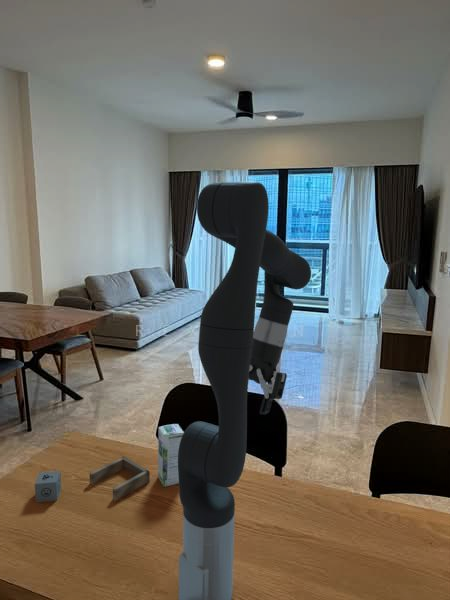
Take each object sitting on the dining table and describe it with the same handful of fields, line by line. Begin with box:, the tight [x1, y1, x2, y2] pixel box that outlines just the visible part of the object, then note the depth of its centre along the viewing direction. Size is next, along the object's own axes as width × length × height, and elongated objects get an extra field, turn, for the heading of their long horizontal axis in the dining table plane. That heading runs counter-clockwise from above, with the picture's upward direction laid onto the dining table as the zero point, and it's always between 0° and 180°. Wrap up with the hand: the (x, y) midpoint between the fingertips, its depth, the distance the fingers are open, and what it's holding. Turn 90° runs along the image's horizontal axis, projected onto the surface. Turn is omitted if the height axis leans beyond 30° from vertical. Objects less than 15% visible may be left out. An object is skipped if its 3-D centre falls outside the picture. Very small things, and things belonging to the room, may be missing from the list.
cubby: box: [89, 456, 151, 502], centre depth 114 cm, size 11×11×3 cm
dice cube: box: [34, 470, 62, 503], centre depth 108 cm, size 5×5×5 cm
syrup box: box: [157, 423, 184, 488], centre depth 115 cm, size 6×6×14 cm
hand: (249, 406), depth 100 cm, fingers open, 8 cm apart
